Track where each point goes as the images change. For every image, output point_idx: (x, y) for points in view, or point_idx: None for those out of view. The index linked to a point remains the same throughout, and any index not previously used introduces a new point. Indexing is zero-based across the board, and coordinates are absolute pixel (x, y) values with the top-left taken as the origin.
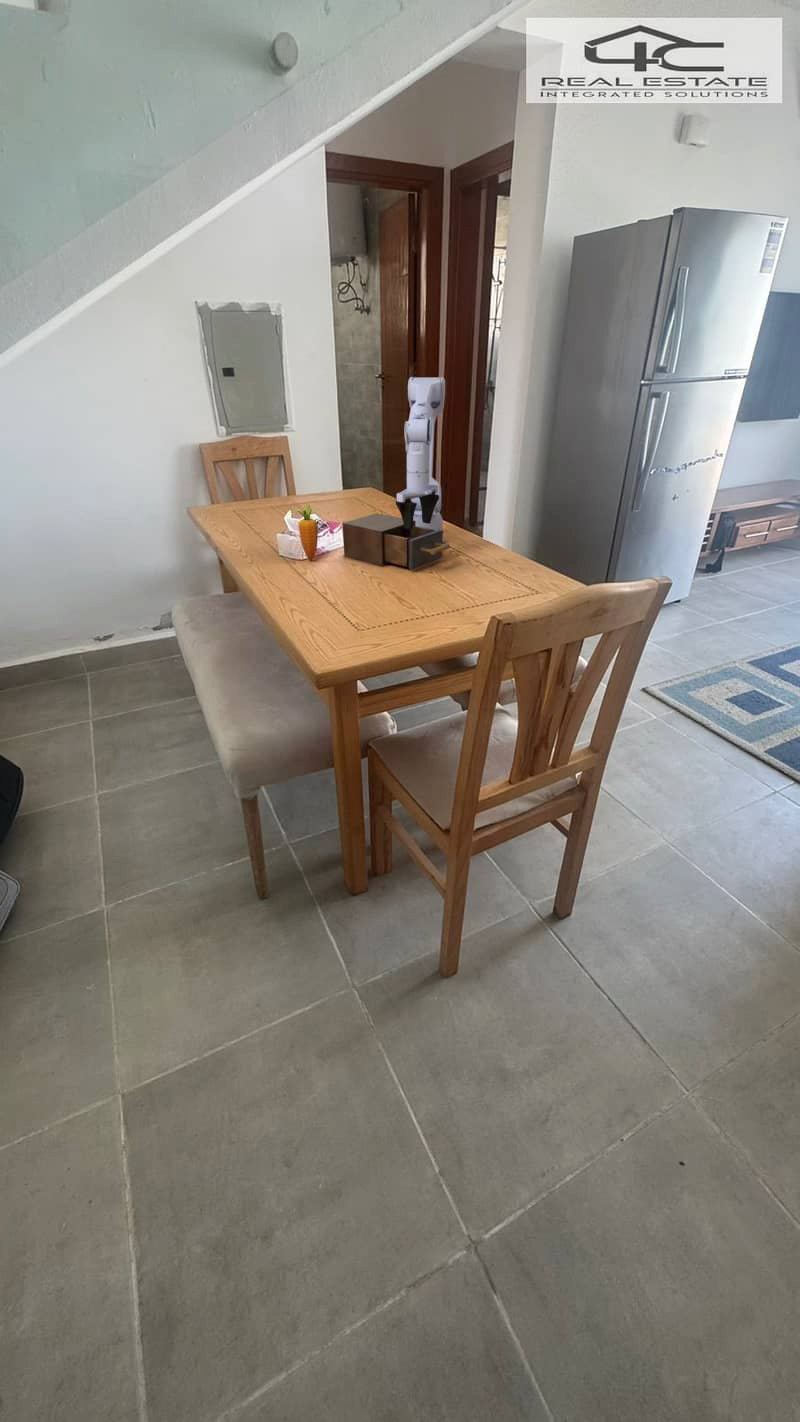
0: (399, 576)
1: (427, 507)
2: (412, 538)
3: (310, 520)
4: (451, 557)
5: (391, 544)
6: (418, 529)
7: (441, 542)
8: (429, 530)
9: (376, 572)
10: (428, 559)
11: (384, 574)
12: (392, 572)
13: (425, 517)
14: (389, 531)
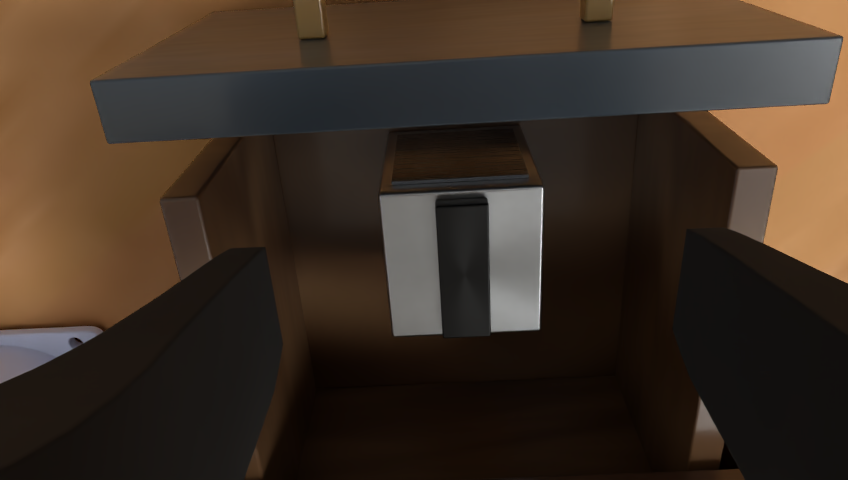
0: (811, 10)
1: (182, 459)
2: (464, 270)
3: None
4: (68, 19)
5: None
6: None
7: (180, 42)
8: (211, 244)
9: (810, 218)
10: (437, 4)
11: (824, 142)
12: (746, 128)
13: (255, 355)
14: (640, 473)
